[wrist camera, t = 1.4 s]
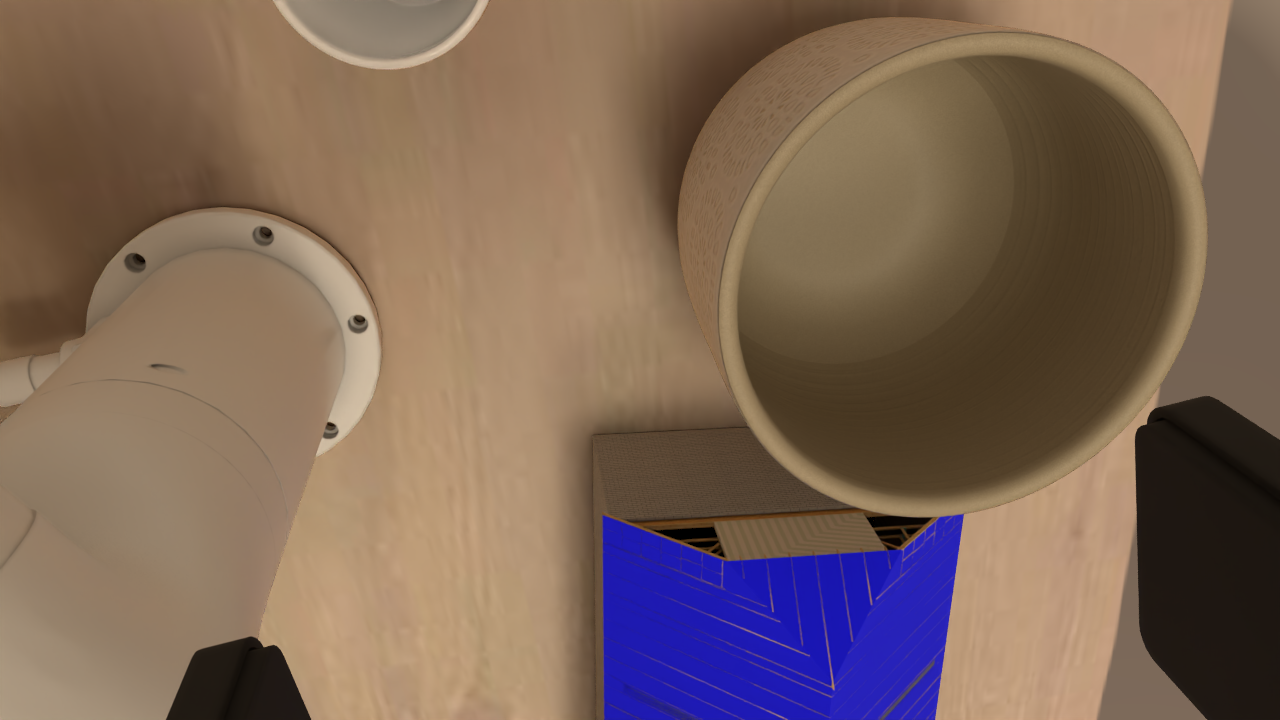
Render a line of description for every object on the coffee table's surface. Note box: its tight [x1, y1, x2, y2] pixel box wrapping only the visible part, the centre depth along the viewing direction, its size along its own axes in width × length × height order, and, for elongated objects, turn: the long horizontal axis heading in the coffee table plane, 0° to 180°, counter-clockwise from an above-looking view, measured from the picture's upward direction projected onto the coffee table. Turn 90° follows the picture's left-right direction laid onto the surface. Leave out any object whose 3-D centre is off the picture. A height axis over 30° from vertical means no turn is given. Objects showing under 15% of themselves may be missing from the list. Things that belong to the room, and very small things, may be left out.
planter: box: [678, 17, 1208, 517], centre depth 42 cm, size 17×17×15 cm
